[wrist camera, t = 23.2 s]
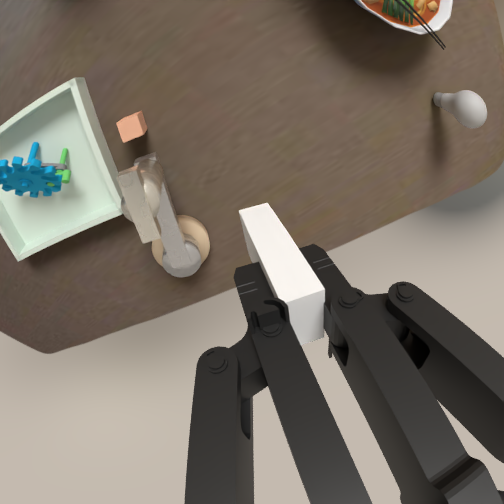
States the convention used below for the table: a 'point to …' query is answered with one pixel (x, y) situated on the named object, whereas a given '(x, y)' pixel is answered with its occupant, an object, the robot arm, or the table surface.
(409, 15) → the ramen bowl
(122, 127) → the post
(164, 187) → the crank
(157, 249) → the crank pedestal
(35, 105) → the tray
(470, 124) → the lightbulb
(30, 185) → the gear
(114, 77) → the table surface
